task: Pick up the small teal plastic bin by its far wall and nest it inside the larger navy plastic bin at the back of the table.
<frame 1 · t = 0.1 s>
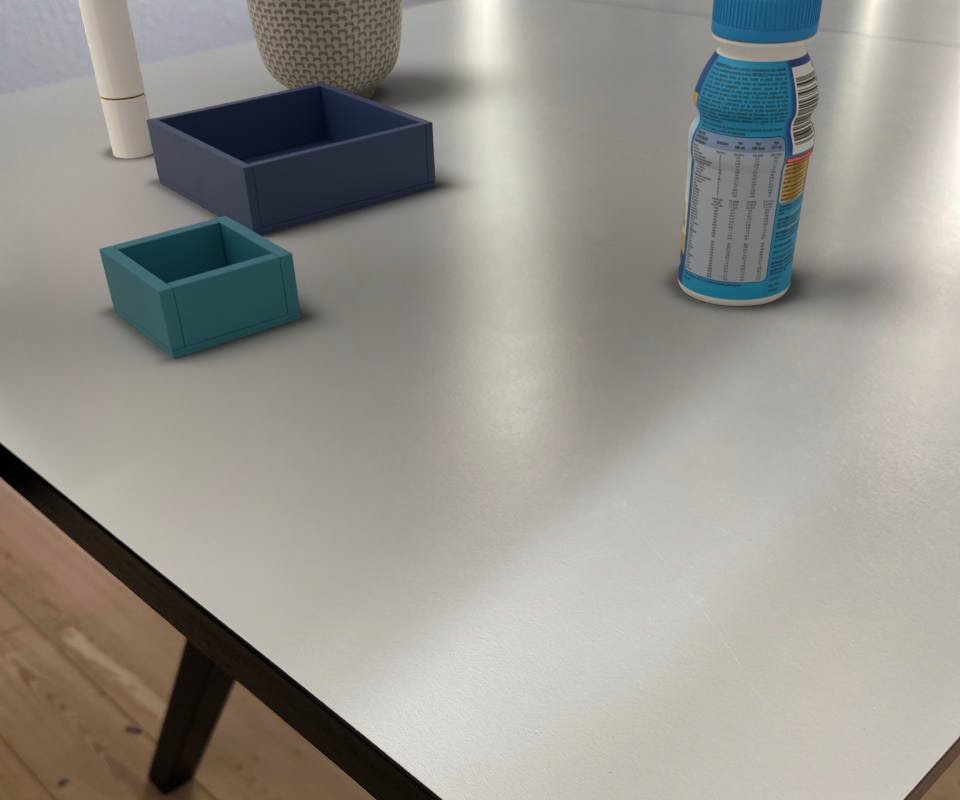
beverage bottle: (732, 290, 83), on the table
planter: (335, 99, 127), on the table
tube: (136, 156, 113), on the table
teal bin: (207, 318, 81), on the table
navy bin: (295, 187, 103), on the table
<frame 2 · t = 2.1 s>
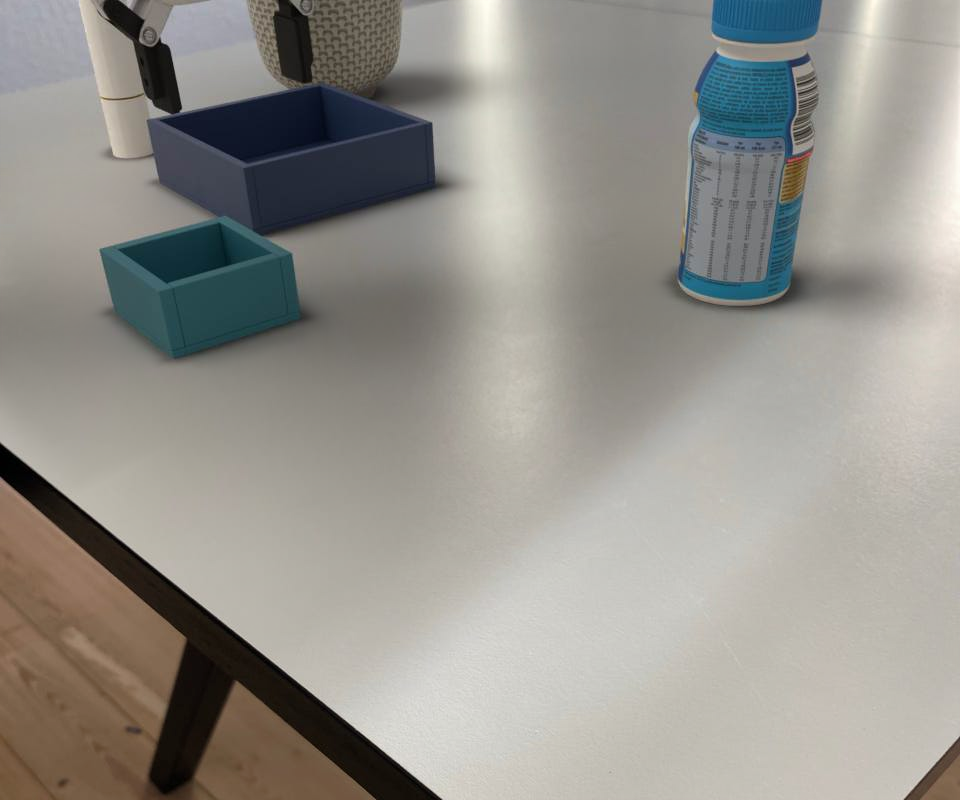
hand: (234, 94, 74), 14 cm above the table, tool pointing down, fingers open, 9 cm apart
nothing on the table moved.
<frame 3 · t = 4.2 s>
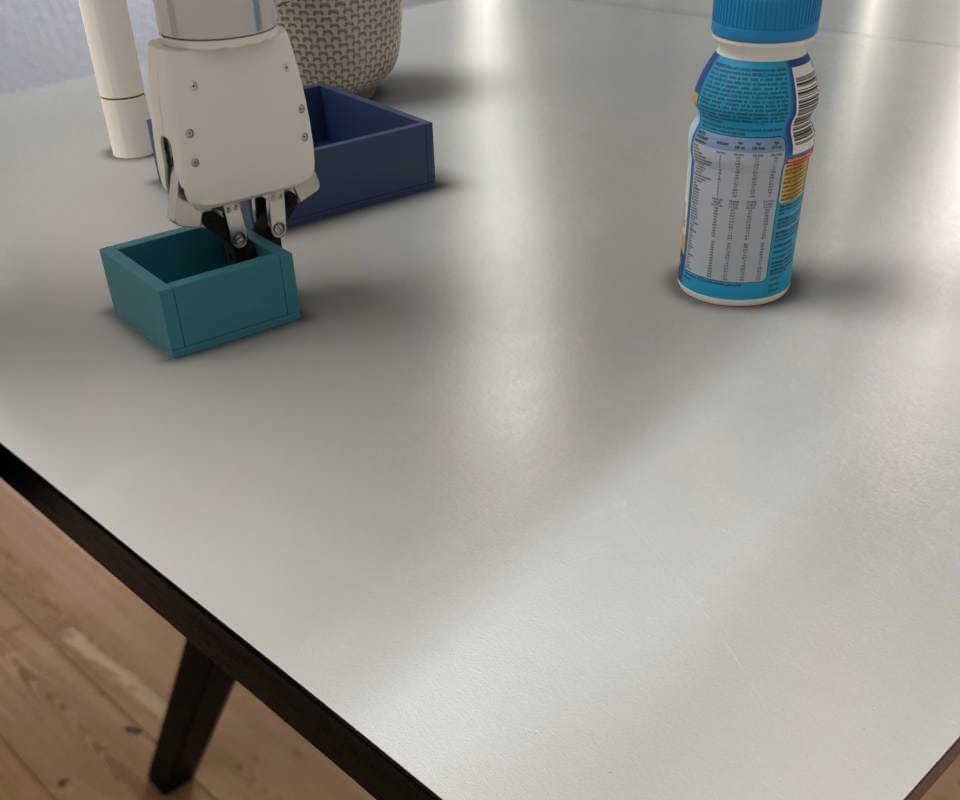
hand: (260, 290, 83), 1 cm above the table, tool pointing down, fingers closed on teal bin
teal bin: (207, 318, 81), on the table, touching gripper
everything else where it was.
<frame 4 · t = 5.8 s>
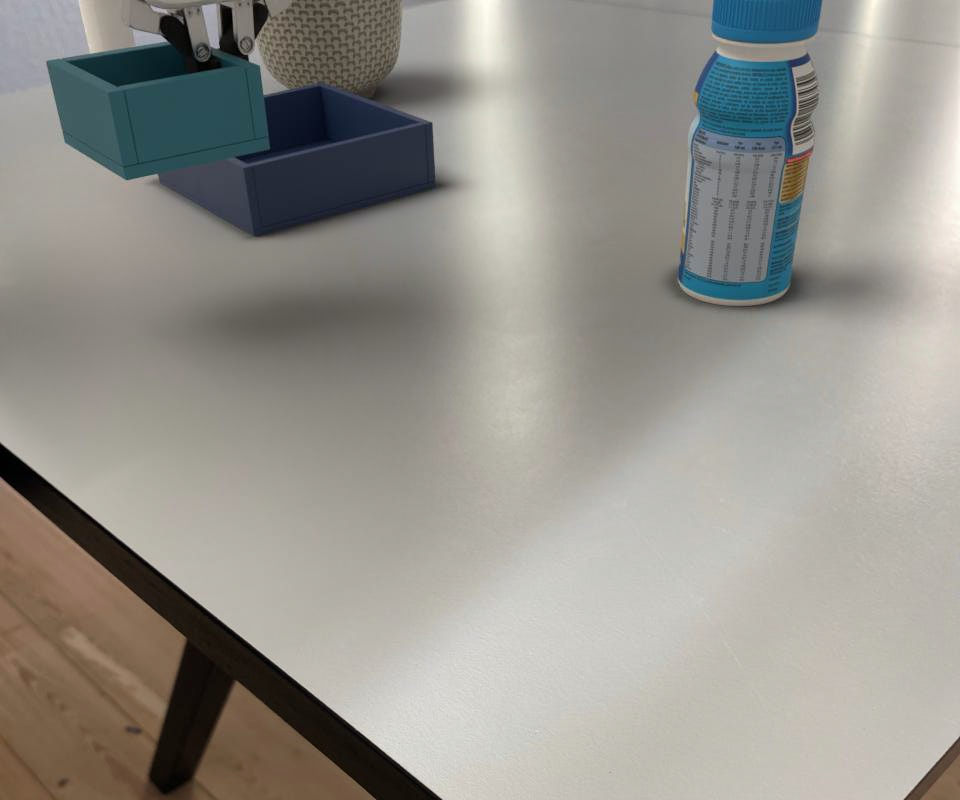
hand: (225, 118, 75), 13 cm above the table, tool pointing down, fingers closed on teal bin
teal bin: (166, 146, 74), point 12 cm above the table, touching gripper
everything else where it was.
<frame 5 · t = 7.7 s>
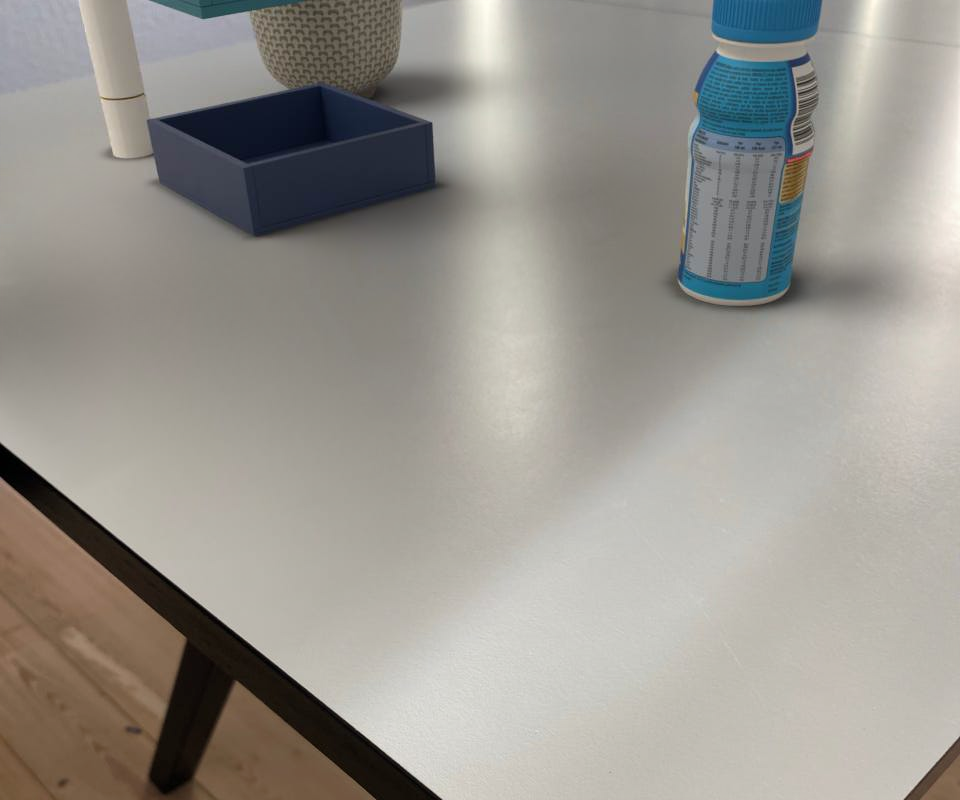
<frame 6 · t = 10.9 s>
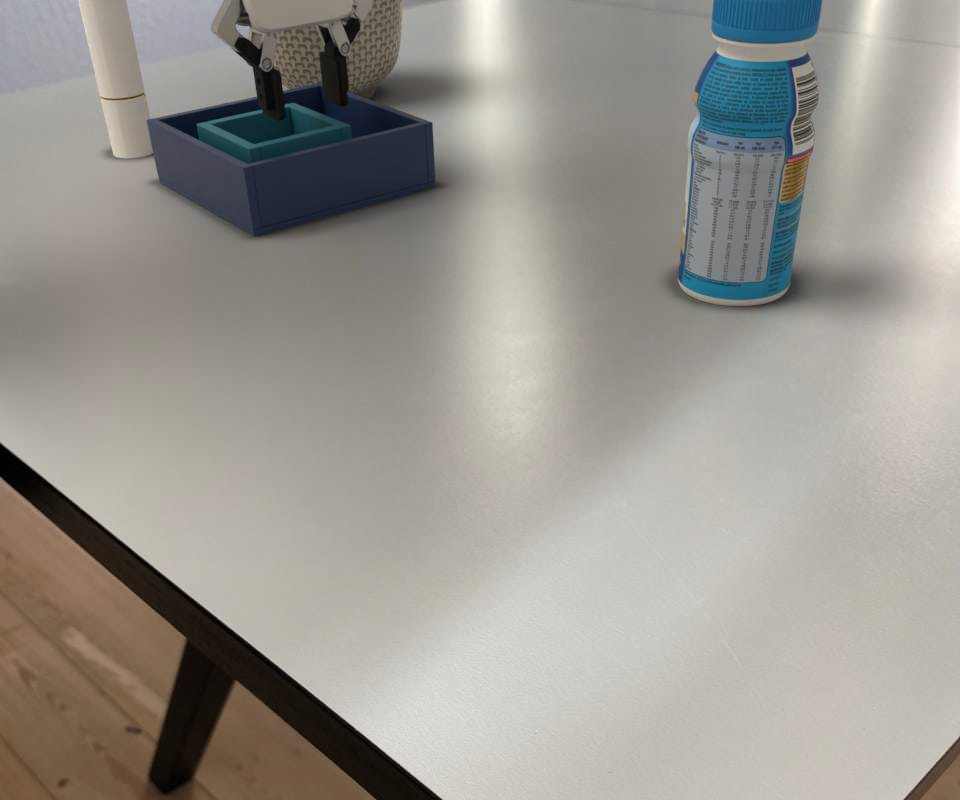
hand: (305, 107, 100), 7 cm above the table, tool pointing down, fingers open, 5 cm apart
teal bin: (280, 182, 102), point 1 cm above the table, touching navy bin
everything else where it was.
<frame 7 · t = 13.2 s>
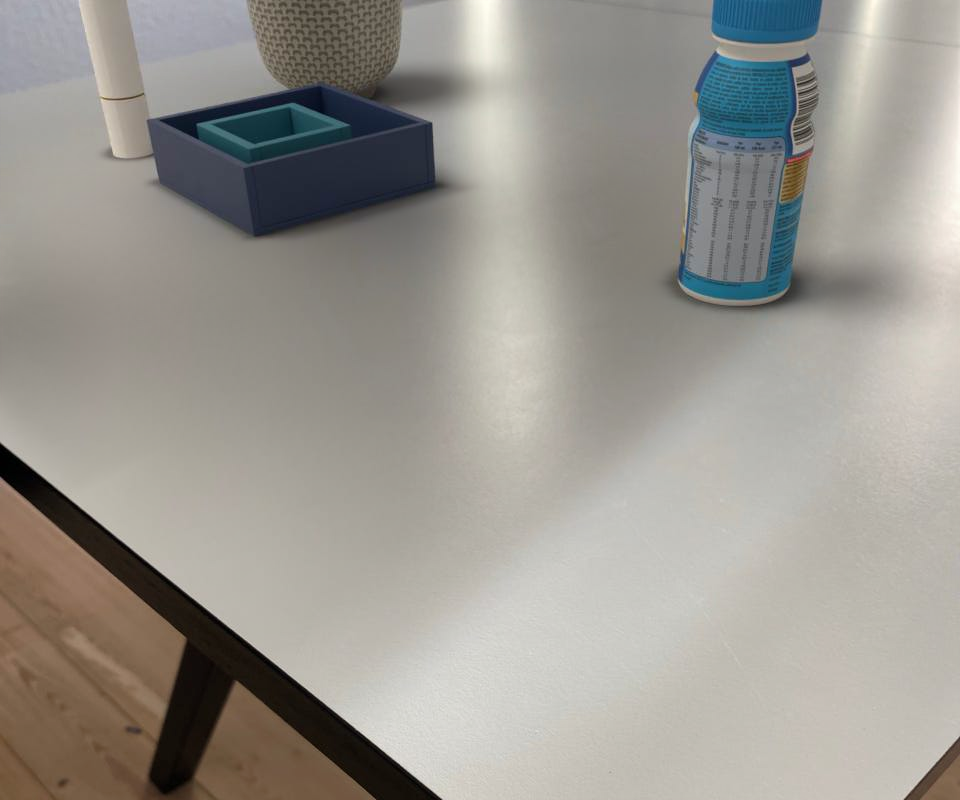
nothing on the table moved.
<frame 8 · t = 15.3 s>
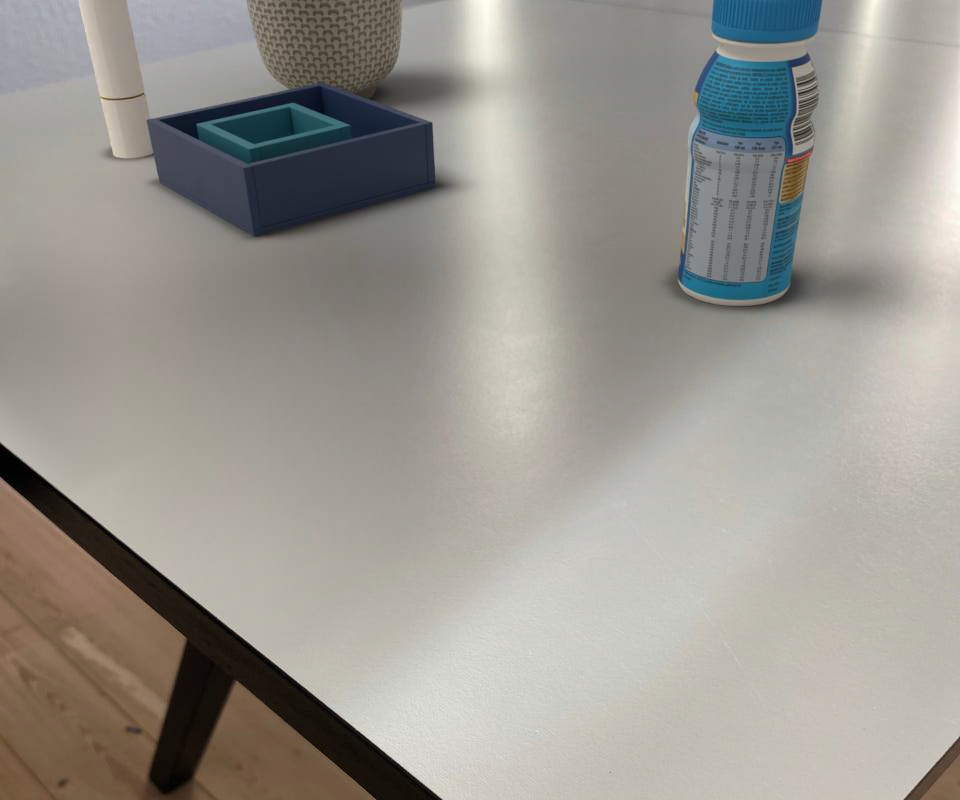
nothing on the table moved.
at the end: teal bin inside the target area in the navy bin (0.3 cm from its centre), point 0.8 cm above the navy bin's base; teal bin tilted 0°; the gripper is holding nothing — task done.
